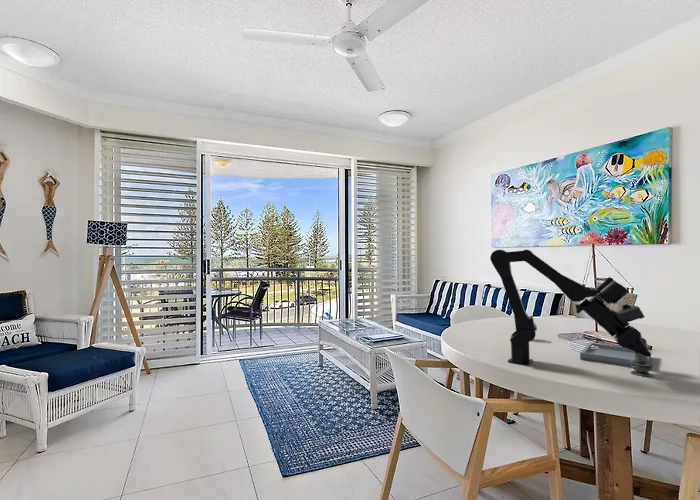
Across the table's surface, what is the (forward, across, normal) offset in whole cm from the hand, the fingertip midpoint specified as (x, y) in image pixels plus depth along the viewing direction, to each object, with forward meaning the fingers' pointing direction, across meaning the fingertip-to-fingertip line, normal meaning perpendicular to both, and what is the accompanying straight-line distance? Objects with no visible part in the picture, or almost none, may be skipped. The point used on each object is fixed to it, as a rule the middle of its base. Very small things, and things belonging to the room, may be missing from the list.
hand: (646, 353), depth 110 cm
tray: (+1, +17, +8) cm, 19 cm away
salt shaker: (+4, 0, +6) cm, 7 cm away
